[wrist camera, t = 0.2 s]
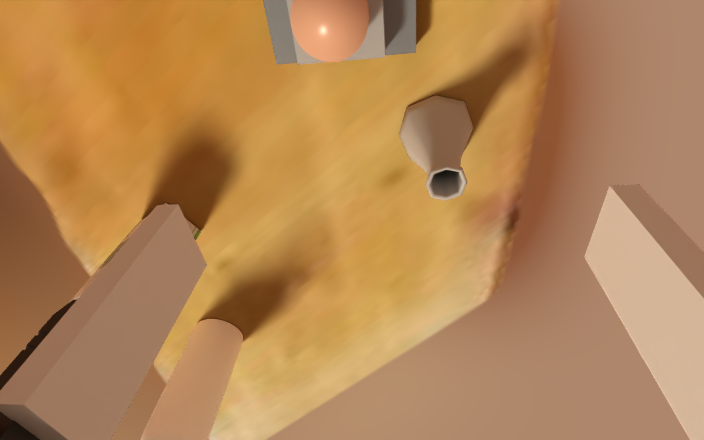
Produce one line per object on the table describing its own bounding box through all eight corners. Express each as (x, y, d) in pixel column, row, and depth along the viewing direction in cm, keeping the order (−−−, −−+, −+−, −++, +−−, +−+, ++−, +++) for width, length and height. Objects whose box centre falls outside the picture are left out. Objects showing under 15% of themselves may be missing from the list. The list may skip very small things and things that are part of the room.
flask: (474, 89, 35) (498, 137, 27) (471, 158, 39) (490, 217, 32) (396, 98, 36) (397, 147, 28) (401, 164, 41) (403, 222, 33)
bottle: (189, 336, 64) (71, 576, 41) (203, 311, 60) (79, 565, 36) (234, 353, 66) (147, 590, 43) (250, 330, 62) (163, 582, 38)
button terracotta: (296, -28, 27) (283, -21, 24) (368, -36, 27) (364, -30, 23) (308, 49, 30) (298, 65, 27) (373, 43, 30) (370, 58, 26)
